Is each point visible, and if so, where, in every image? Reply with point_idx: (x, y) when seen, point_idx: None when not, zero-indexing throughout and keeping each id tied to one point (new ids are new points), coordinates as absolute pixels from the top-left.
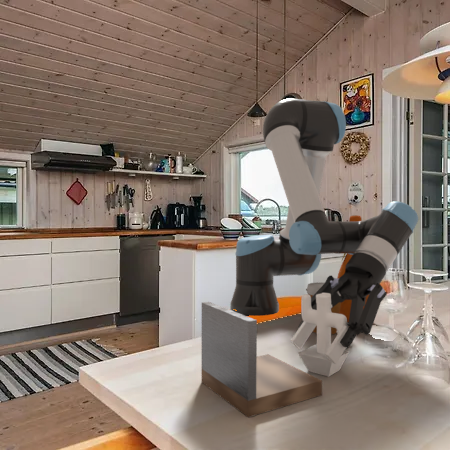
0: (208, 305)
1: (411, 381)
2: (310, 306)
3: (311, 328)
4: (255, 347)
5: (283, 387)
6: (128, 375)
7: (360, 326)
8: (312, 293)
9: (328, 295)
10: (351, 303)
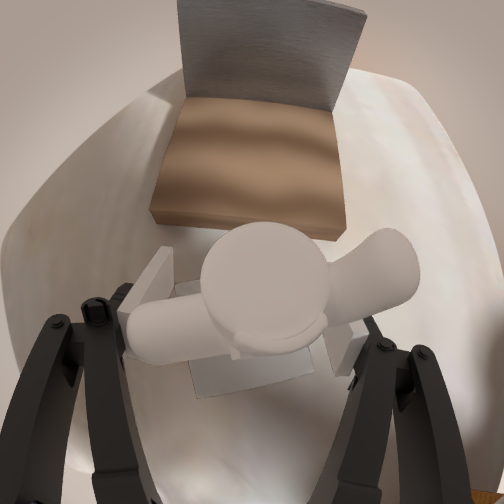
0: (333, 2)
1: (85, 430)
2: (349, 292)
3: (330, 341)
4: (179, 32)
5: (182, 137)
6: (380, 90)
7: (58, 314)
8: (501, 500)
9: (218, 289)
10: (128, 432)
